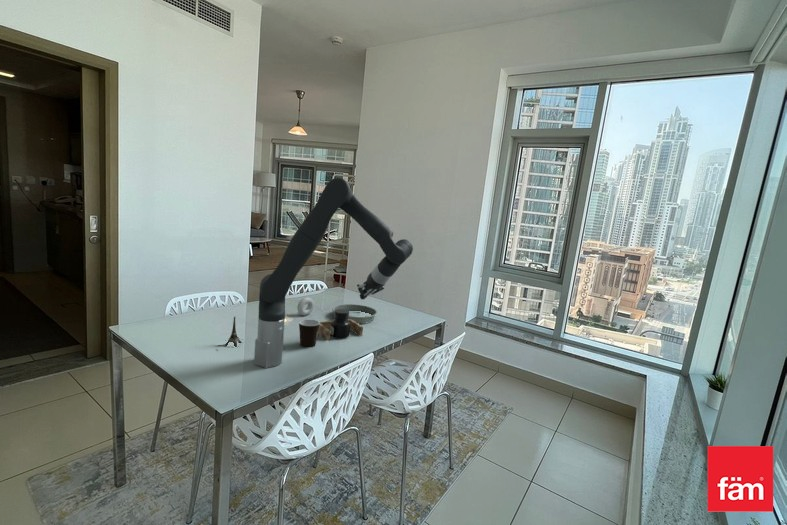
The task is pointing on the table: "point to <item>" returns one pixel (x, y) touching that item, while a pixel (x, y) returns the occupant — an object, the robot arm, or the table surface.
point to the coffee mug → (308, 332)
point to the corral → (326, 327)
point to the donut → (309, 308)
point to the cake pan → (358, 308)
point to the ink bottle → (340, 324)
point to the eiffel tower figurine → (233, 336)
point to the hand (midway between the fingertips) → (361, 297)
